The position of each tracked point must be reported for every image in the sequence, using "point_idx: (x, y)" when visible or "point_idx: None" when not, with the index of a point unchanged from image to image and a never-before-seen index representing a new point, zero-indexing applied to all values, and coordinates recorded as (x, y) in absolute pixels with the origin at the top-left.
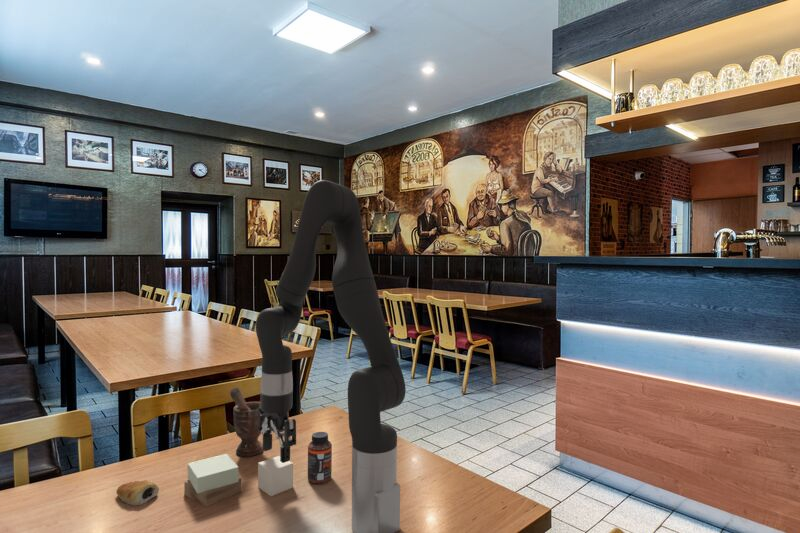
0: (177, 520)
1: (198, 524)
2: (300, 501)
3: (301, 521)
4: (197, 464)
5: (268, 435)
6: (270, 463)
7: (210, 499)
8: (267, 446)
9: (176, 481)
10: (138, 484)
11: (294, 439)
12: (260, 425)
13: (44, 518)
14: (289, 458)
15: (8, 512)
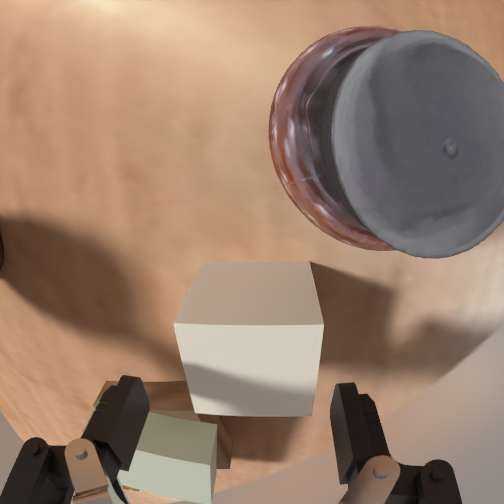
0: (247, 471)
1: (291, 462)
2: (412, 292)
3: (474, 334)
4: (130, 482)
5: (115, 456)
6: (238, 392)
7: (229, 449)
8: (139, 410)
9: (83, 420)
10: (123, 486)
11: (452, 497)
12: (68, 501)
13: (135, 500)
14: (370, 400)
15: None
